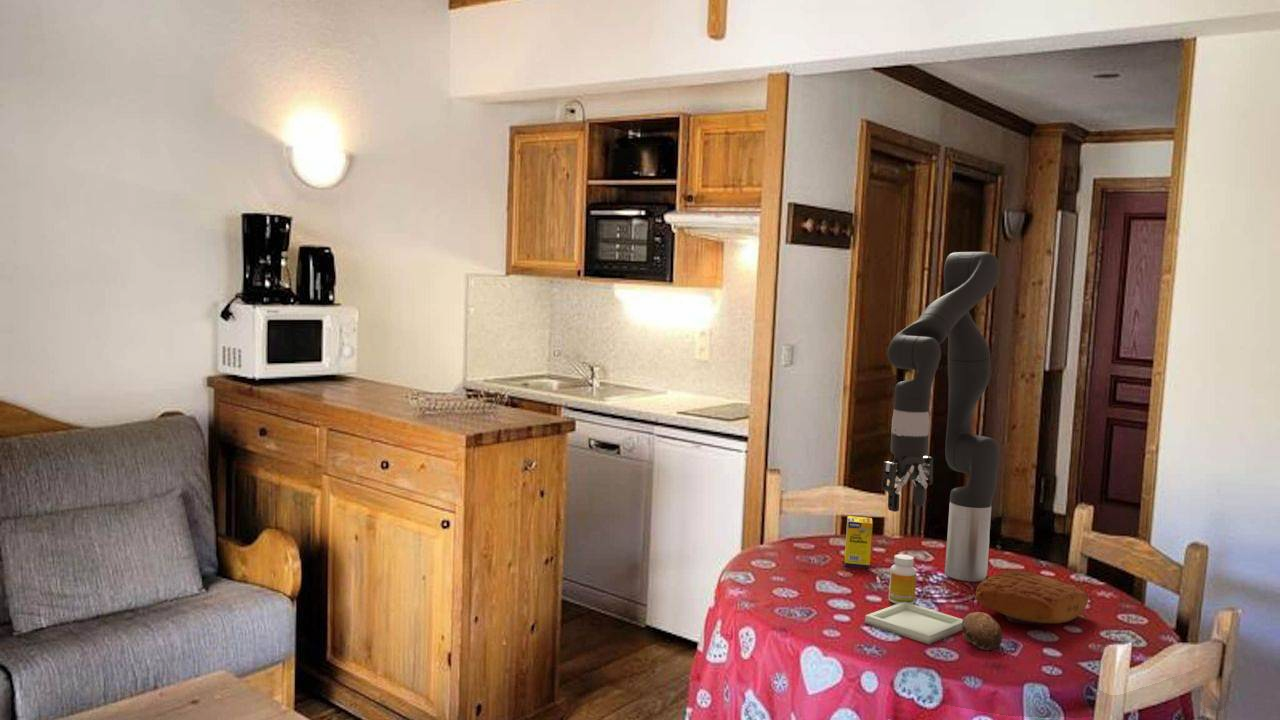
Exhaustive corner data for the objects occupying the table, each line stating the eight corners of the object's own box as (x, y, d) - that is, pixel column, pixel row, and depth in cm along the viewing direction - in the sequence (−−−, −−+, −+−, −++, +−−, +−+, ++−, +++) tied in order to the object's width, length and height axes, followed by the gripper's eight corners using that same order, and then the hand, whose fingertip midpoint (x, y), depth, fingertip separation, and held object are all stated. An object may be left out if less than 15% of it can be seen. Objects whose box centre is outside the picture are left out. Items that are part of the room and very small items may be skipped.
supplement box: (870, 568, 232) (873, 523, 231) (844, 566, 233) (847, 521, 232) (869, 562, 238) (872, 517, 237) (844, 559, 239) (847, 515, 238)
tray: (903, 609, 204) (904, 601, 204) (966, 628, 194) (966, 620, 193) (865, 623, 194) (865, 615, 194) (928, 644, 184) (929, 636, 184)
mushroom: (949, 618, 189) (968, 598, 186) (985, 634, 190) (1005, 614, 187) (954, 650, 183) (974, 631, 179) (991, 667, 184) (1012, 647, 180)
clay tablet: (1048, 642, 188) (1051, 601, 187) (965, 618, 200) (967, 579, 199) (1093, 618, 203) (1096, 580, 203) (1013, 596, 215) (1016, 561, 215)
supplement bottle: (917, 606, 206) (920, 560, 205) (891, 605, 206) (894, 559, 205) (910, 598, 211) (913, 553, 210) (885, 596, 211) (888, 552, 211)
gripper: (915, 426, 212) (911, 500, 213) (873, 431, 203) (869, 508, 204) (945, 431, 206) (941, 507, 207) (903, 437, 197) (899, 516, 199)
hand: (906, 508), depth 206 cm, fingers open, 8 cm apart
